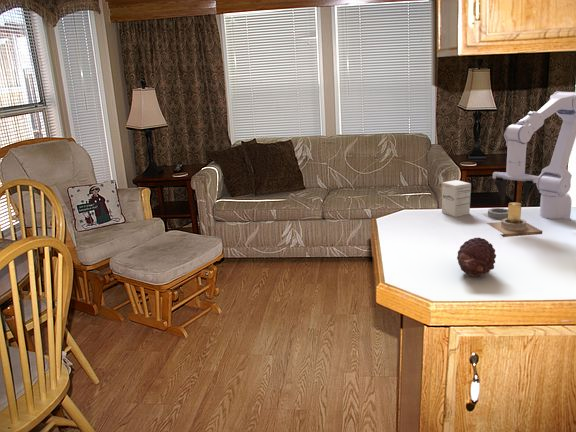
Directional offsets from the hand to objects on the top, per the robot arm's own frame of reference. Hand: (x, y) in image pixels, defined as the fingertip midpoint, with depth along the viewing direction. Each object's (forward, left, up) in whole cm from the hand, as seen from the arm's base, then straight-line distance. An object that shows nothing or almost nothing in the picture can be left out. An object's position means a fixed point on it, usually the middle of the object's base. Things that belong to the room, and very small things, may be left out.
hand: (513, 201), depth 185 cm
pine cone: (+29, +36, -10) cm, 47 cm away
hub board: (+1, +2, -9) cm, 10 cm away
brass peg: (+1, +2, -8) cm, 9 cm away
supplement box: (+12, -19, -10) cm, 25 cm away
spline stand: (-1, -11, -9) cm, 15 cm away
